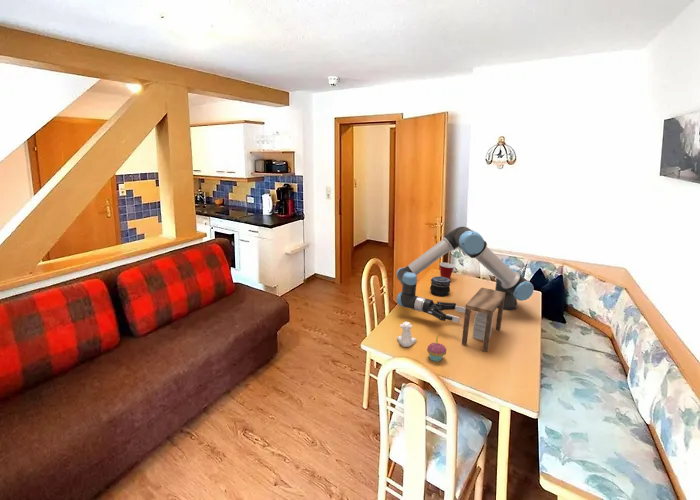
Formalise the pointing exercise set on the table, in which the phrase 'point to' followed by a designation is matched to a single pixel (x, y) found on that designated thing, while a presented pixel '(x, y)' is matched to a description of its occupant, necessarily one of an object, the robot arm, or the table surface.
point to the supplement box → (480, 326)
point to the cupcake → (436, 350)
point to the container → (440, 286)
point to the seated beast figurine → (406, 335)
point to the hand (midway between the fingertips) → (463, 315)
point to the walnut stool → (486, 304)
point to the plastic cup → (446, 269)
